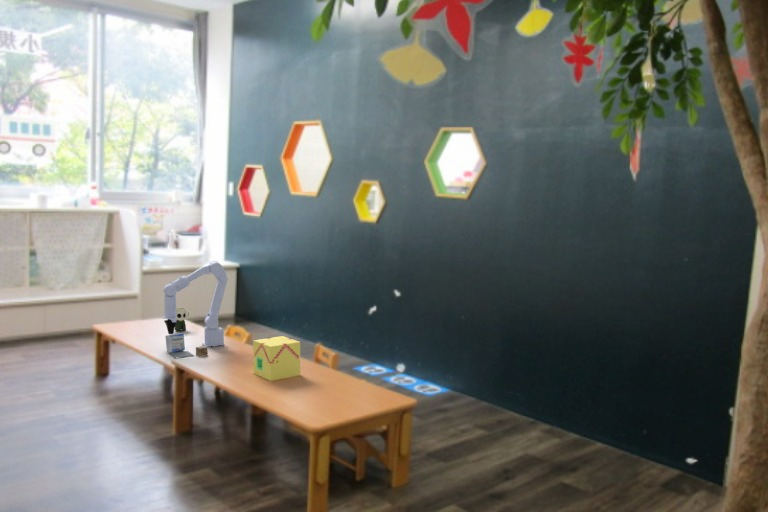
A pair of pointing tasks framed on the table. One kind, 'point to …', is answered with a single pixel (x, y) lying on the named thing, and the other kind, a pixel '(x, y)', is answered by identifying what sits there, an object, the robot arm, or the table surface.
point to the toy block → (276, 358)
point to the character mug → (181, 319)
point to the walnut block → (201, 350)
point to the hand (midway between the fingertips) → (170, 333)
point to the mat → (181, 354)
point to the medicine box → (175, 342)
